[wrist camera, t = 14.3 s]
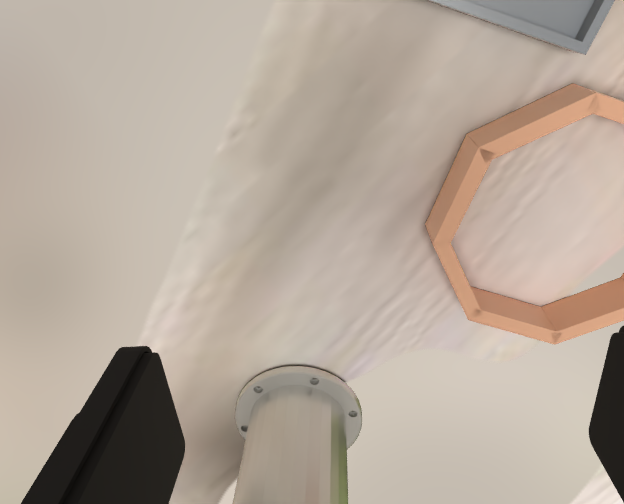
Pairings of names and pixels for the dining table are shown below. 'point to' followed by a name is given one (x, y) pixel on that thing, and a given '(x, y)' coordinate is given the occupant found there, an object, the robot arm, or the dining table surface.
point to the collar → (461, 189)
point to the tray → (541, 18)
